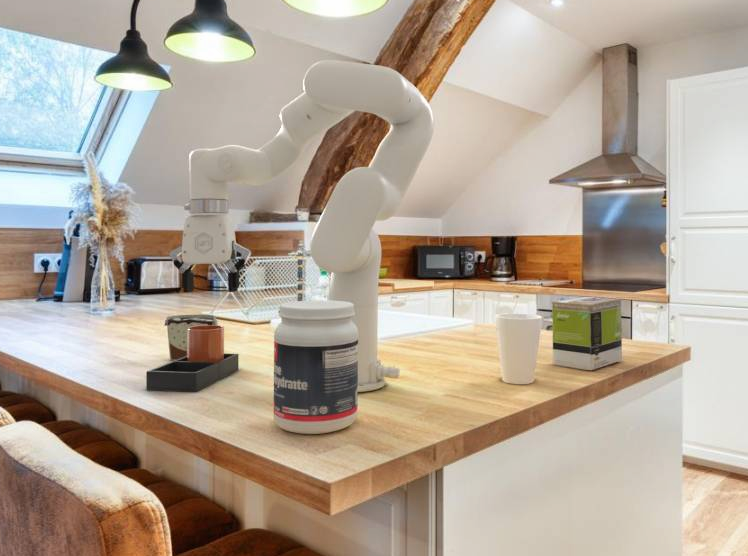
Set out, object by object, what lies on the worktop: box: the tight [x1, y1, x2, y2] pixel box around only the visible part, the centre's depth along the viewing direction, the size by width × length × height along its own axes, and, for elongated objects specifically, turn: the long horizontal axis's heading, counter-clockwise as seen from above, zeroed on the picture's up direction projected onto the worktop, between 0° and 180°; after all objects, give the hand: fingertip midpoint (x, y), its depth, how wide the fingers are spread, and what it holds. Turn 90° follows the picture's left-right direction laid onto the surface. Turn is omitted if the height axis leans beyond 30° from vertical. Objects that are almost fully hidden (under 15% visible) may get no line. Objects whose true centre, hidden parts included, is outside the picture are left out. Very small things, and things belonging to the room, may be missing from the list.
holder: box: [145, 352, 239, 393], centre depth 123 cm, size 19×10×4 cm, turn 173°
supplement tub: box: [272, 299, 359, 435], centre depth 94 cm, size 13×13×18 cm
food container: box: [164, 314, 219, 362], centre depth 144 cm, size 12×6×10 cm, turn 84°
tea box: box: [551, 296, 623, 371], centre depth 142 cm, size 15×10×15 cm, turn 136°
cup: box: [187, 324, 225, 362], centre depth 127 cm, size 7×7×9 cm
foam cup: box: [494, 312, 543, 385], centre depth 124 cm, size 10×9×13 cm
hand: (210, 291), depth 128 cm, fingers open, 9 cm apart
